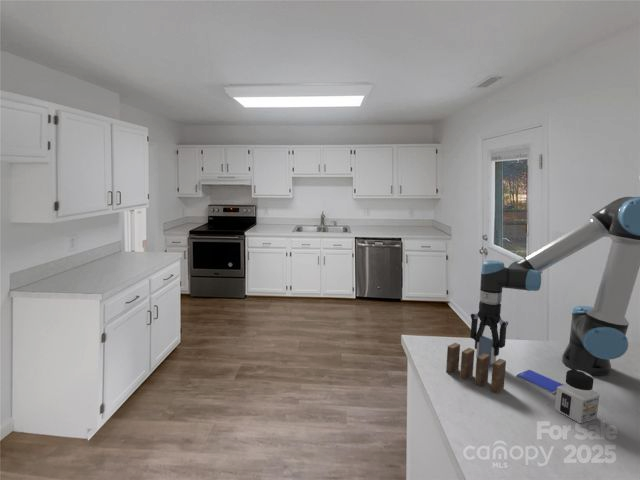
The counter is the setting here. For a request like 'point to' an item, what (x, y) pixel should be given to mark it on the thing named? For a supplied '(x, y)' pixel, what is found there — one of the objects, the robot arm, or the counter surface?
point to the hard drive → (539, 381)
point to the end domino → (486, 346)
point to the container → (577, 397)
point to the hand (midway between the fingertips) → (485, 360)
